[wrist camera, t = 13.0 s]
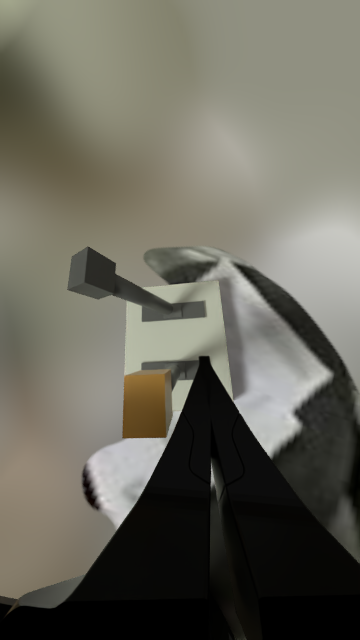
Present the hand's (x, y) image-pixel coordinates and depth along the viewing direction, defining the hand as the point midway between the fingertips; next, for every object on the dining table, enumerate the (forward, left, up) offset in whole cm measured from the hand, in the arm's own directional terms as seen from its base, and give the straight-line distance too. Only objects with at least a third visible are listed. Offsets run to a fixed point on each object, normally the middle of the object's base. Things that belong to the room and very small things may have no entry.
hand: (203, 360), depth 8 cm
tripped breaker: (-3, 0, -9) cm, 10 cm away
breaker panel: (-1, +3, -12) cm, 13 cm away
